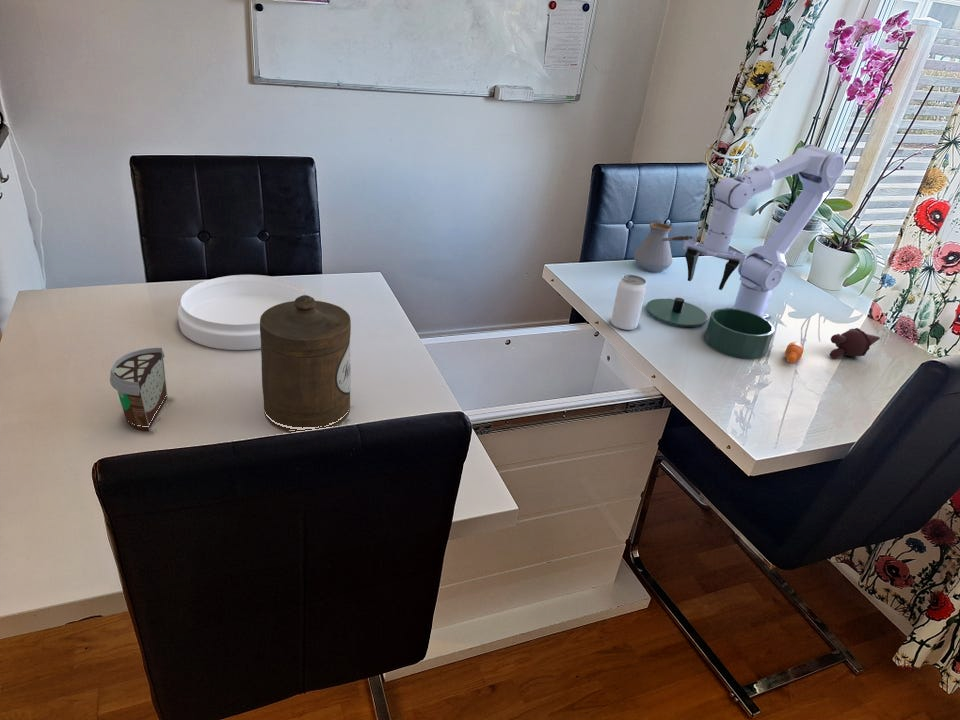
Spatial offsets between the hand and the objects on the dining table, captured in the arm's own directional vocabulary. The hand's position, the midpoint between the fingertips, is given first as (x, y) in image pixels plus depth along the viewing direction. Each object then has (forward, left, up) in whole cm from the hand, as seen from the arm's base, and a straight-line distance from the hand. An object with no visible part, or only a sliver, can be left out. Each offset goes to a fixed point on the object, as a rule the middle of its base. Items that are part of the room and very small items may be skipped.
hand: (705, 284), depth 163 cm
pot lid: (+1, -5, -10) cm, 11 cm away
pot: (+3, +12, -10) cm, 16 cm away
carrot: (-2, +26, -9) cm, 28 cm away
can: (+18, -10, -11) cm, 23 cm away
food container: (+121, -38, -11) cm, 127 cm away
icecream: (-17, +32, -11) cm, 38 cm away
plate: (+90, -60, -11) cm, 108 cm away
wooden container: (+98, -23, -11) cm, 101 cm away
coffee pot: (-21, -24, -11) cm, 34 cm away
